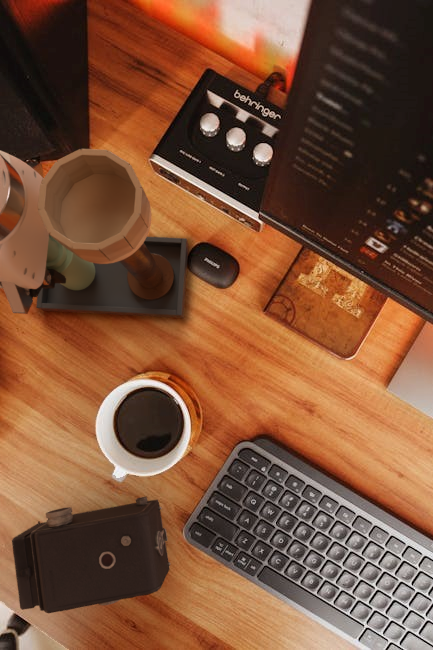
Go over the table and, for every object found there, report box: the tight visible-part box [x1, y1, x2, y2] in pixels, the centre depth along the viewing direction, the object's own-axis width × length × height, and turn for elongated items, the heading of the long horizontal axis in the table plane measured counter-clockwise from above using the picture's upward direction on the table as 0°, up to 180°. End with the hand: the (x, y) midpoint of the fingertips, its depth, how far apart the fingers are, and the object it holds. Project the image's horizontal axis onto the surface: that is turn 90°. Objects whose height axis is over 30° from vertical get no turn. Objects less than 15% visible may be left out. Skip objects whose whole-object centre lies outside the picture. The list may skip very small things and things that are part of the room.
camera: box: [11, 496, 172, 614], centre depth 59 cm, size 11×11×15 cm
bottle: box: [46, 234, 95, 290], centre depth 60 cm, size 4×4×14 cm
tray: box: [36, 236, 189, 319], centre depth 67 cm, size 17×9×2 cm, turn 87°
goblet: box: [38, 148, 175, 301], centre depth 53 cm, size 7×7×28 cm
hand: (53, 255), depth 58 cm, fingers closed on bottle, 4 cm apart
